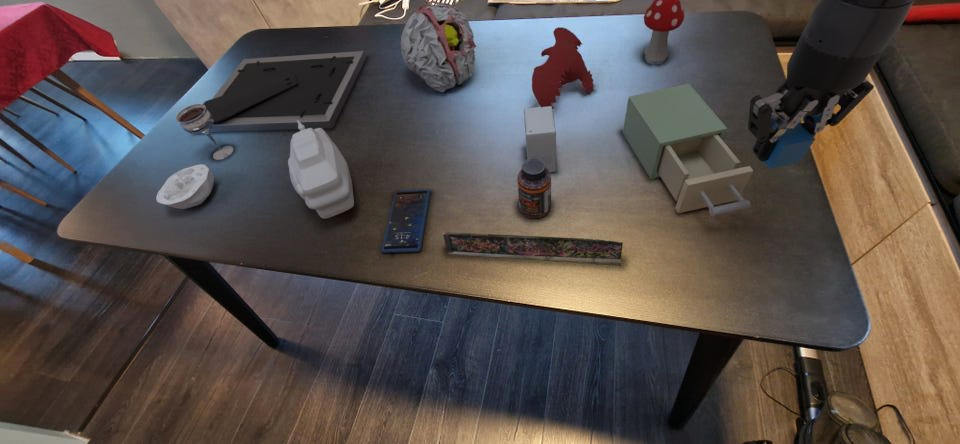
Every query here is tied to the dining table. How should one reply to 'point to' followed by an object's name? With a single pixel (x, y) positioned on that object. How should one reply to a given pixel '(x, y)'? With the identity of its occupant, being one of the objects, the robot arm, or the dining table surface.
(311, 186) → the white tiered sculpture
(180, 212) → the dining table surface
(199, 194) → the cell model
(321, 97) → the picture frame
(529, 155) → the small box
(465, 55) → the decorative sculpture
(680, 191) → the beige drawer
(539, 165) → the supplement bottle
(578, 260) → the incense holder
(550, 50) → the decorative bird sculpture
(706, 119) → the drawer cabinet
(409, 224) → the smartphone
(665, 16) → the decorative mushroom
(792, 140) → the matte blue cube
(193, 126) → the wineglass
